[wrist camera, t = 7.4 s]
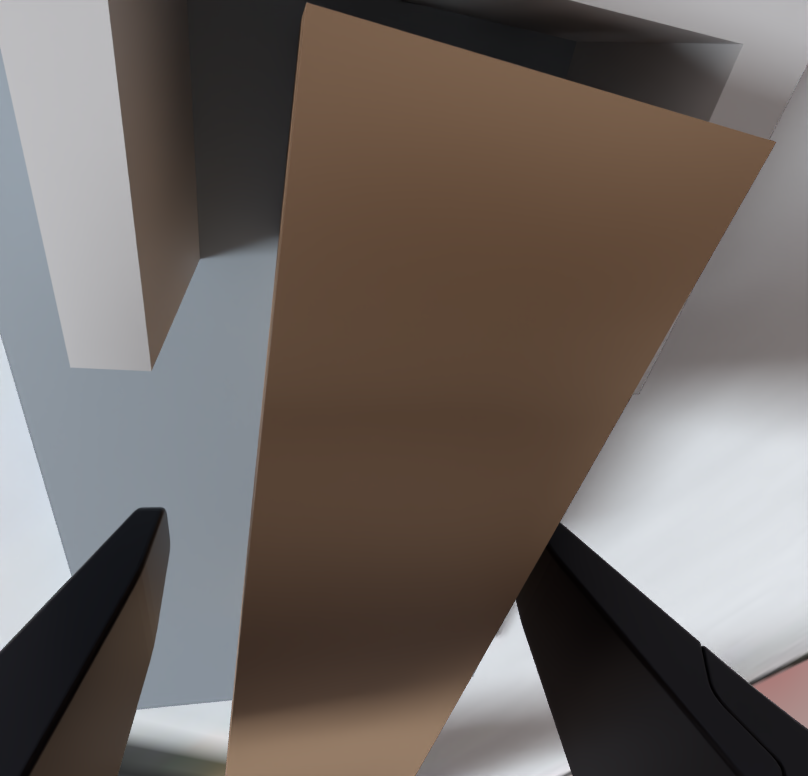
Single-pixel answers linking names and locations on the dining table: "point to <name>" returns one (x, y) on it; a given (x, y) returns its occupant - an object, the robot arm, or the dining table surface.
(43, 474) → the bracket
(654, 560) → the dining table surface
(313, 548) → the brown wooden block
